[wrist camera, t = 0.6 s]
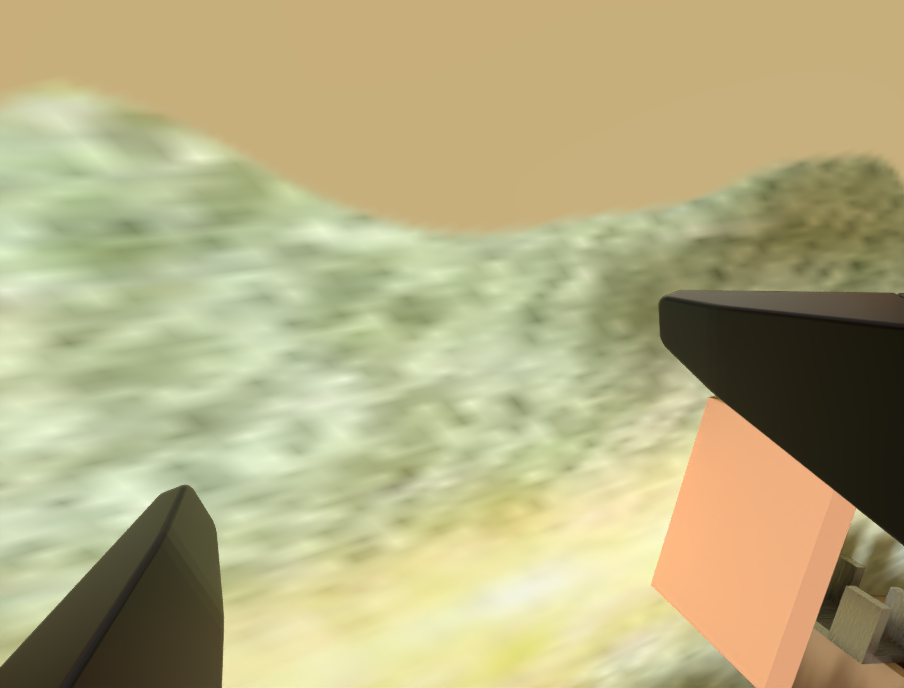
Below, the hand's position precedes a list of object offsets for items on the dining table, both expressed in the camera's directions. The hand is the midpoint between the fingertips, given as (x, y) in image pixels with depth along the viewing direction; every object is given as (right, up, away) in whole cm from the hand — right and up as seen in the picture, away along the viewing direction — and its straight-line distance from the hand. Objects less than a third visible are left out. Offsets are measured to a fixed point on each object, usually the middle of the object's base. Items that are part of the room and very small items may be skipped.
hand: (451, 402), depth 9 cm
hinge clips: (+24, -15, +26) cm, 38 cm away
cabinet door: (+14, -8, +22) cm, 27 cm away
